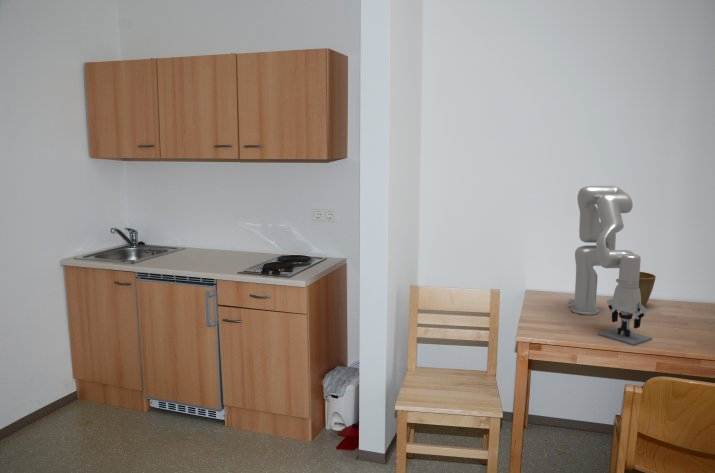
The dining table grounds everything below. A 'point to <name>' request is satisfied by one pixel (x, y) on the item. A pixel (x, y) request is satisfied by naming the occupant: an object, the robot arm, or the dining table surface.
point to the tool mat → (631, 340)
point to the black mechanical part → (624, 324)
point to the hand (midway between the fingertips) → (625, 324)
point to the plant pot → (646, 286)
